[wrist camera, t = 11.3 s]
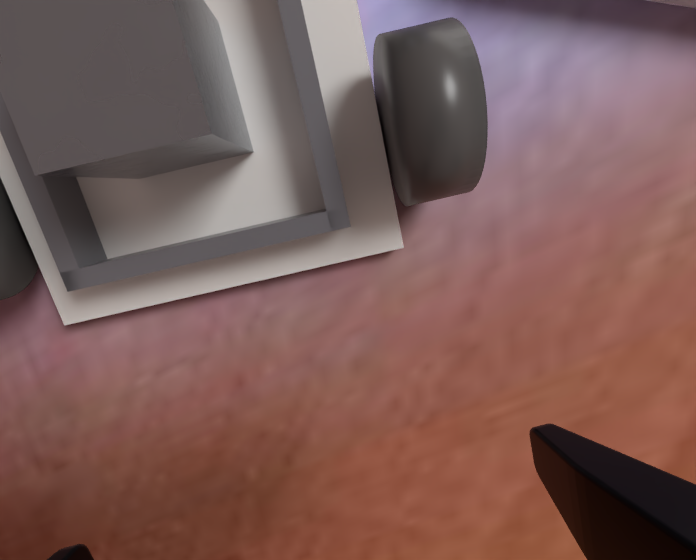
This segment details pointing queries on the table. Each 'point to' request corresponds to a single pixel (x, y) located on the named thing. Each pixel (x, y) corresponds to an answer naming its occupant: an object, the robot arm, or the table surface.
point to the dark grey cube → (118, 86)
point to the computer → (678, 2)
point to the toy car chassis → (261, 167)
